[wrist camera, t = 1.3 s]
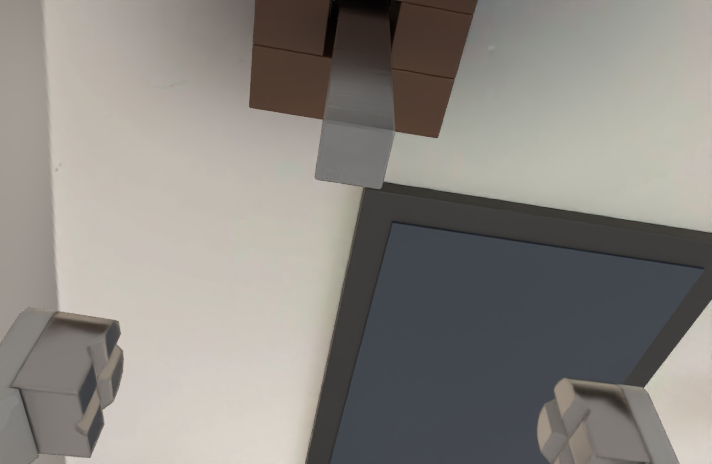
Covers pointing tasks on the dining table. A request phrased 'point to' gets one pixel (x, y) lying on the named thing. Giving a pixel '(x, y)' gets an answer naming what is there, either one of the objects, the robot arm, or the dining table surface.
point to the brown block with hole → (315, 50)
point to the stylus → (358, 98)
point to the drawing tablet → (492, 323)
